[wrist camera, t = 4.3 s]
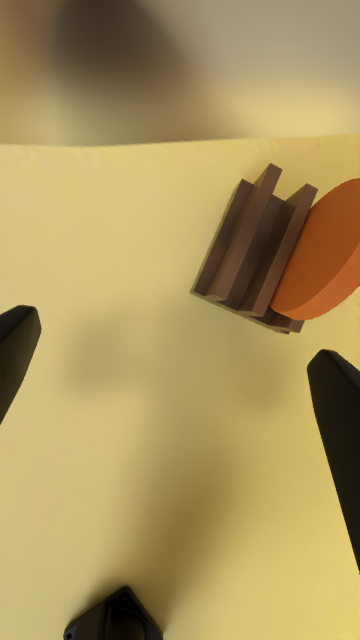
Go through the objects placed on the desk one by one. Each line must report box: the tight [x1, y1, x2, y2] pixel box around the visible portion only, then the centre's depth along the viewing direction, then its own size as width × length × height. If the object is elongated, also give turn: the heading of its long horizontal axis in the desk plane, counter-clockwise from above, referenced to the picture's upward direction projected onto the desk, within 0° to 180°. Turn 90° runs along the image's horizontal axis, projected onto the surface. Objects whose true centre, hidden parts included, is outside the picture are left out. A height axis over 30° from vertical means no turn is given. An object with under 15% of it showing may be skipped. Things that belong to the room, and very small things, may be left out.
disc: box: [269, 178, 360, 320], centre depth 17 cm, size 9×1×9 cm, turn 156°
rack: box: [190, 163, 318, 334], centre depth 20 cm, size 10×9×5 cm
